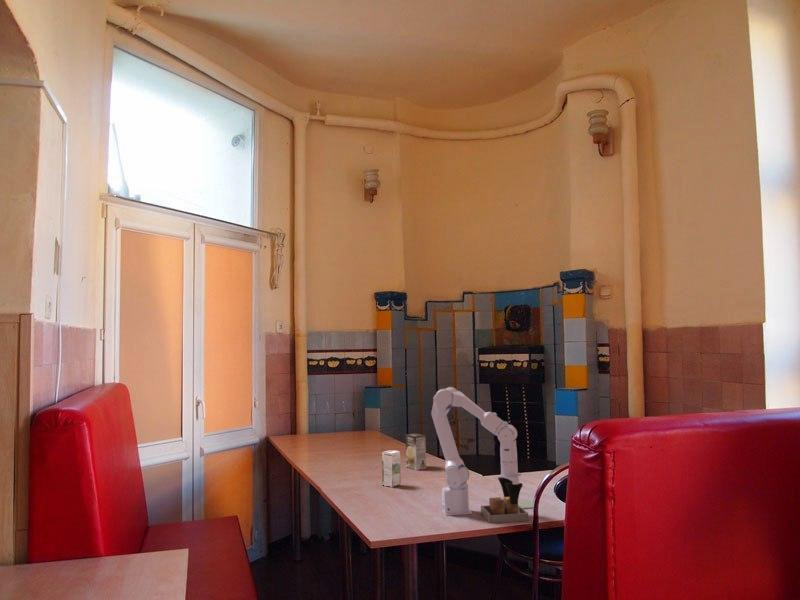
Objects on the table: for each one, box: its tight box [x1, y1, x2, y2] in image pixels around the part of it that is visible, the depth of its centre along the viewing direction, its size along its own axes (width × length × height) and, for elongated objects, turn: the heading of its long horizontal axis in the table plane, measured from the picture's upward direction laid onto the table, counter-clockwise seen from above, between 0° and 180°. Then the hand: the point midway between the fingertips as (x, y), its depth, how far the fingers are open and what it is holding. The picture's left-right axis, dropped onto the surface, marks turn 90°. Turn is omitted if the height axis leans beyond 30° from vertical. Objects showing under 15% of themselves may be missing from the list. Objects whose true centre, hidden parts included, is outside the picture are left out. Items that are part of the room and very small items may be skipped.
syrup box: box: [381, 449, 402, 488], centre depth 252 cm, size 6×6×14 cm
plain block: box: [488, 496, 504, 515], centre depth 202 cm, size 4×4×6 cm
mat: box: [518, 499, 534, 510], centre depth 215 cm, size 9×9×1 cm
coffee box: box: [404, 433, 427, 471], centre depth 286 cm, size 9×6×16 cm
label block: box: [502, 496, 519, 514], centre depth 202 cm, size 4×4×6 cm
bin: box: [480, 504, 529, 524], centre depth 202 cm, size 13×12×2 cm
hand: (510, 501), depth 202 cm, fingers open, 7 cm apart
